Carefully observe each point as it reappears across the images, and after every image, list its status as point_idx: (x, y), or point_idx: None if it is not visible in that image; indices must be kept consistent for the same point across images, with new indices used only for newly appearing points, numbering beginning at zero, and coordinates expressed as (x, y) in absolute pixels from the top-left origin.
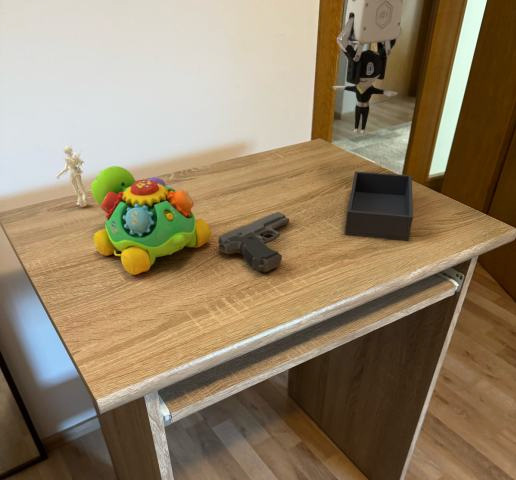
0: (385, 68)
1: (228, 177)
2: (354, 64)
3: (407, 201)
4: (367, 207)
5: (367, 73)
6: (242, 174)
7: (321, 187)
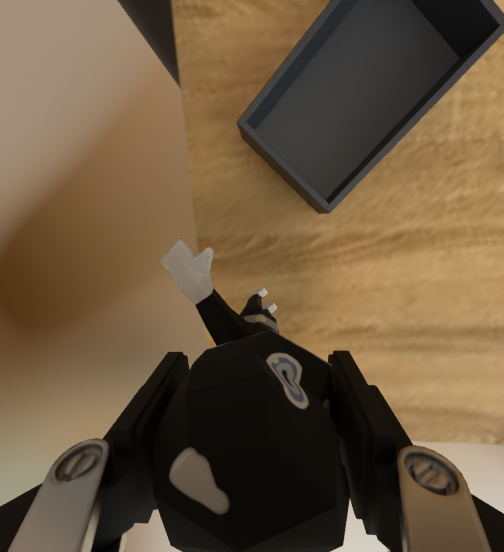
0: (149, 379)
1: (462, 386)
2: (402, 442)
3: (312, 45)
4: (351, 130)
5: (296, 367)
6: (433, 383)
7: (352, 263)
